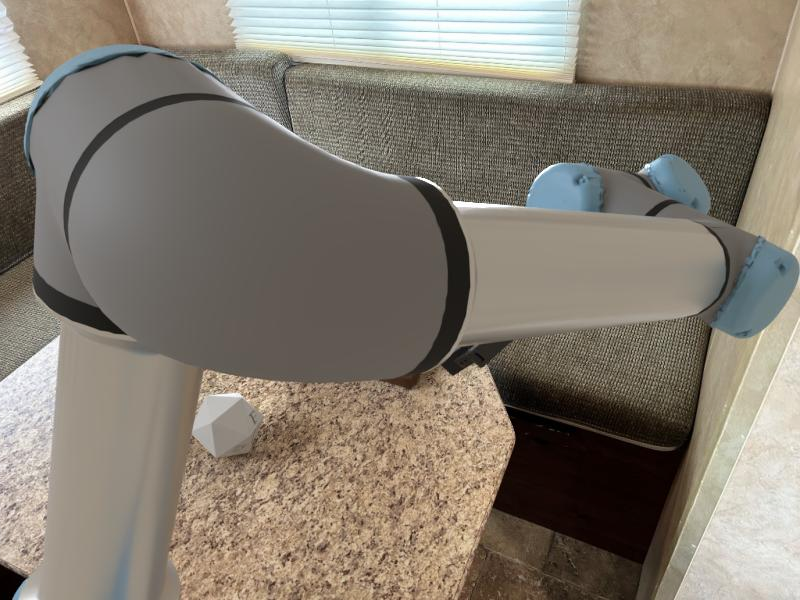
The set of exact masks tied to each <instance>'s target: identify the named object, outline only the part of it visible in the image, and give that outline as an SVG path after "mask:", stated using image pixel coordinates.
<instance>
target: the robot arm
mask: <svg viewBox="0 0 800 600" xmlns="http://www.w3.org/2000/svg"><path fill="white" fill-rule="evenodd" d="M24 126H25V127H24V133H23V135H24V136H23V149H24V154H25V157H26V159H27V163H26V164H27V166H28V167H29V169H30V171H31V174H32V175H33V177H34V179H35V186H36V187H35V188H36V189H35V191H36V193H35V195H36V196H35V212H34V213H35V214H34V215H35V216H34V219H35V220H34V237H33V239H34V240H33V256H32V257H33V258H32V259H33V261H32V262H33V263H32V264H33V266H32V268H33V269H32V281H31V283H32V293H33V295H34V297H35V299H36V301H37V302H38V303H39V305H40V306H41V307H42V308H43V309H44V310H45V311H46V312H48V313H49V314H50V315H51V316H53V317H54V318H55V319H57V320H58V321H59V322H60V326H59V327H60V328H59V339H58V340H59V341H58V342H59V343H58V353H57V354H58V355H57V366H56V367H57V368H56V380H55V381H56V383H55V393H54V394H55V396H54V407H53V408H54V409H53V421H52V422H53V423H52V438H51V448H50V449H51V450H50V464H49V465H50V466H49V476H48V478H49V479H48V491H47V503H46V505H47V506H46V518H45V532H44V544H43V545H44V546H43V560H42V562H41V563H40V564H39V565H38V566H37V567H35V569H34V570H33V571H32V573H30V575H29V577H28V578H26V579H25V580H24V581H23V582H22V583H21V585H20V586H19V587H18V589H17V590H16V592H15V593H14V595H13V597H12V600H181V593H182V592H181V591H182V588H181V586H182V585H181V577H180V574H179V571H178V569H177V567H176V565H175V563H174V562H173V560H172V559H171V557H169V556H170V555H169V553H170V550H171V549H170V548H171V545H172V544H171V543H172V539H173V534H174V528H175V523H176V518H177V513H178V509H179V508H178V506H179V503H180V498H181V493H182V492H181V491H182V486H183V482H184V476H185V471H186V466H187V461H188V456H189V450H190V445H191V439H192V436H193V435H192V430H193V425H194V421H195V419H196V416H197V409H198V403H199V398H200V393H201V388H202V383H203V378H204V373H205V370H208V371H212V372H216V373H218V374H219V373H220V374H223V375H229V376H236V377H243V378H250V379H255V380H264V381H271V382H285V383H300V384H301V383H302V384H331V383H332V384H335V383H336V384H337V383H361V382H370V381H371V382H373V381H380V380H382V379H393V378H396V377H402V376H408V375H416V374H420V373H421V374H425V373H427V372H430V371H434V370H435V369H437V368H438V367H441V368H443V369H444V370H445V371H446V372H447V373H449V375H450V376H451V377H455V375H457V374H459V373H460V372H462V371H463V370H465V369H467V368H468V367H470V366H472V365H474V364H475V365H477V367H478V368H479V369H483V368H484V367H486V365H487V364H488V363H490V362H491V361H492V360H493V359H494V358H495V357H496V356H497V355H498V354H500V353H501V352H502V351H503V350H504V349H505V348H506V347H508V346H509V345H510V344H511V343H512V342H513V341H516V340H523V339H531V338H539V337H547V336H553V335H554V336H555V335H561V334H568V333H577V332H584V331H591V330H600V329H607V328H615V327H623V326H629V325H630V326H631V325H639V324H646V323H654V322H661V321H669V320H676V319H677V320H678V319H686V318H698V319H700V320H702V321H703V322H705V323H706V324H708V327H710V328H711V329H716V330H718V331H721V332H723V333H725V334H727V335H728V336H731V337H733V338H735V339H741V340H745V339H749V338H752V337H755V336H756V335H758V334H759V333H761V332H762V331H764V330H765V329H766V328H768V326H770V325H771V324H772V323H773V322H774V320H775V319H776V318H777V317H778V316H779V315H780V313H781V311H783V309H784V308H785V307H786V305H787V303H788V301H789V300H790V298H791V297H792V295H793V293H794V291H795V289H796V286H797V284H798V281H799V278H800V262H799V260H798V258H797V257H796V256H795V255H794V254H793V253H792V252H791V251H788V250H787V249H784V248H782V247H780V246H778V245H776V244H774V243H773V242H771V241H769V240H767V239H766V237H764V236H762V235H760V234H759V235H758V236H757V235H756V234H753V233H751V232H749V231H746V230H744V229H743V228H742V229H741V228H739V227H737V226H734V225H732V224H730V223H727V222H725V221H723V220H720V219H718V218H716V217H713V216H711V215H709V214H708V213H709V212H710V209H711V204H712V203H711V196H710V192H709V190H708V188H707V186H706V184H705V182H704V181H703V179H702V177H701V176H700V175H699V173H698V172H697V171H696V170H695V168H693V167H692V166H691V164H689V163H688V162H687V161H686V160H684V159H683V158H682V157H680V156H678V155H675V154H673V153H672V154H671V153H666V154H663V155H661V156H659V157H658V158H656V159H655V160H652V161H651V162H650V163H646V164H645V165H644V166H643V168H642V169H640V171H638V172H633V171H632V172H631V171H621V170H616V169H610V168H607V167H606V168H604V167H600V166H595V165H590V163H587V162H580V163H579V162H576V163H574V162H561V163H560V162H559V163H555V164H552V165H550V166H548V167H547V168H545V169H544V170H543V171H541V172H540V173H539V174H538V175H537V177H536V178H534V180H533V182H532V184H531V187H530V189H529V192H528V195H527V197H526V203H525V204H526V205H525V206H519V205H507V204H505V205H503V204H494V203H493V204H492V203H481V202H480V203H477V202H465V201H454V200H453V199H452V197H450V195H448V193H447V192H446V191H445V190H444V189H442V188H441V186H439V185H437V184H436V183H435V182H432V181H431V180H428V179H426V178H422V177H418V176H411V175H404V174H403V175H402V174H392V173H386V172H382V171H381V172H380V171H377V170H374V169H370V168H367V167H363V166H361V165H359V164H356V163H354V162H352V161H350V160H346V159H343V158H341V157H340V156H339V157H338V156H336V155H335V154H332V153H330V152H328V151H326V150H325V149H322V148H321V147H320V146H317V145H315V144H313V143H311V142H310V141H307V140H306V139H304V138H302V137H300V136H299V135H297V134H295V133H294V132H292V131H291V130H290V129H288V128H287V127H285V126H284V125H282V124H280V123H279V122H277V121H276V120H275V119H273V118H271V117H270V116H268V115H267V114H265V113H264V112H262V111H261V110H260V109H258V108H257V107H256V106H254V105H252V104H251V103H249V101H247V100H245V98H243V97H241V95H238V94H237V92H234V90H232V89H230V88H229V87H228V86H227V85H226V84H225V82H223V79H221V78H220V77H218V76H217V75H216V74H214V73H213V71H211V69H209V68H206V67H204V66H203V65H201V64H200V63H199V62H197V61H193V60H191V59H190V60H189V59H187V58H183V57H180V56H178V55H176V54H174V53H171V52H169V51H166V50H164V49H160V48H157V47H154V46H148V45H142V44H131V43H127V44H126V43H123V44H121V43H119V44H109V45H104V46H99V47H96V48H92V49H89V50H86V51H84V52H81V53H79V54H76V55H75V56H74V57H71V58H70V59H67V61H65V62H64V63H63V64H61V65H60V66H58V67H57V68H55V70H53V71H52V72H50V74H49V75H48V76H47V77H46V78H45V80H44V81H43V82H42V83H41V84H40V86H39V88H38V89H37V91H36V93H35V94H34V97H33V98H32V101H31V103H30V105H29V109H28V112H27V118H26V123H25V125H24Z"/></svg>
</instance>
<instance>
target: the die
mask: <svg viewBox="0 0 800 600" xmlns="http://www.w3.org/2000/svg"><path fill="white" fill-rule="evenodd" d="M264 418H265V416H264V415H263V414H262V413H261V412H260V411H259V410H258V409H256V407H255V406H253V405H252V404H251V403H250V402H249V401H248V400H247V399H246V398H245V397H243V395H241V394H240V393H239V392H231V393H219V394H218V393H217V394H207V395H205V396H204V398H203V400H202V403H201V405H200V407H199V410H198V412H197V413H196V415H195V420H194V425H193V430H192V435H191V436H193V437H194V438H195V439H196V441H198V442H199V443H200V444H201V445H202V446H203V447H204V448H205V449H206V450H207V451H208V452H209V453H210V454H211V455H212V456H213V457H214V458H215V459H220V458H225V457H232V456H237V455H244V454H247V453H248V454H249V453H250V452H251V449H252V447H253V443H254V442H255V440H256V437H257V435H258V433H259V430H260V428H261V425H262V423H263V420H264Z"/></svg>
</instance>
